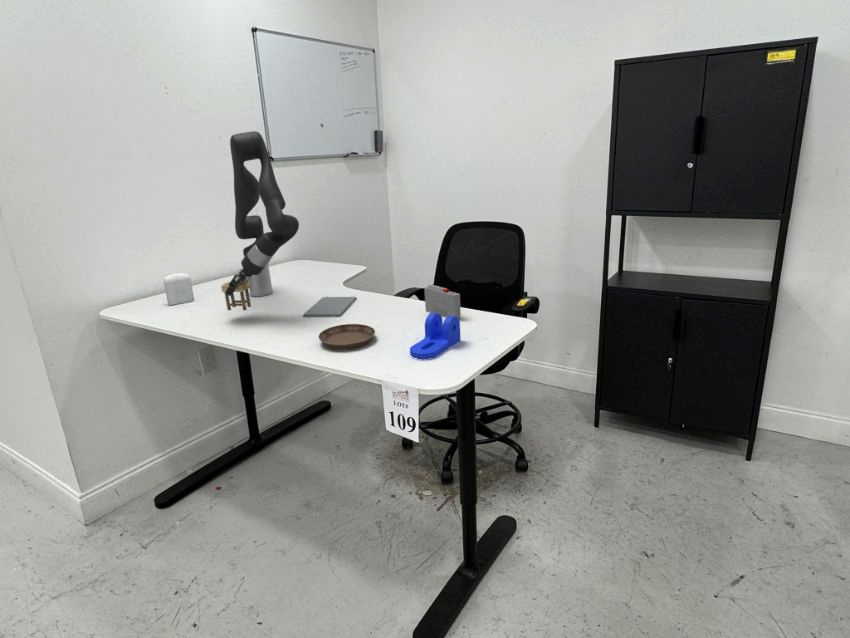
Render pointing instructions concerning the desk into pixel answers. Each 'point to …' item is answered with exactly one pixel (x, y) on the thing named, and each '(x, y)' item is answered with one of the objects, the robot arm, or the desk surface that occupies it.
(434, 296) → the cassette player
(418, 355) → the bracket
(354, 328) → the plant saucer
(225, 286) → the oak stool
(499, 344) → the desk surface
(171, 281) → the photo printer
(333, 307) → the grey mat
